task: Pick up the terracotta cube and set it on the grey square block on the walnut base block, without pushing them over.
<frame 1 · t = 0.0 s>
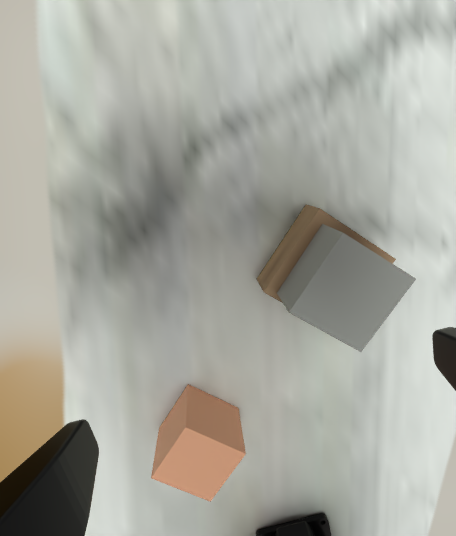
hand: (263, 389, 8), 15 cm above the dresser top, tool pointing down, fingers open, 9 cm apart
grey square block: (331, 278, 21), point 3 cm above the dresser top, touching walnut base block
walnut base block: (314, 263, 24), on the dresser top, touching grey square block
terracotta cube: (198, 417, 26), on the dresser top
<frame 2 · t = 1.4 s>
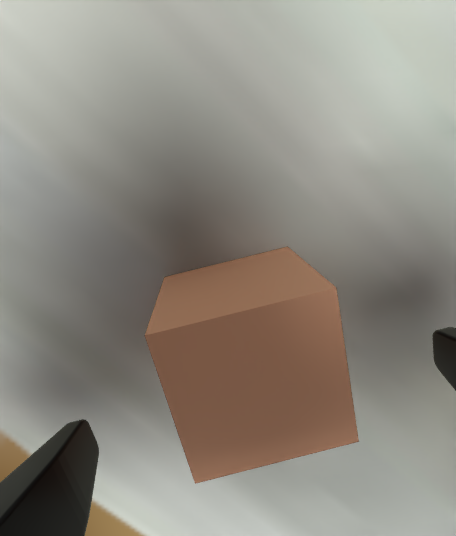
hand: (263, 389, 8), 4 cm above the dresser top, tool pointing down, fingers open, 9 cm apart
terracotta cube: (239, 317, 13), on the dresser top
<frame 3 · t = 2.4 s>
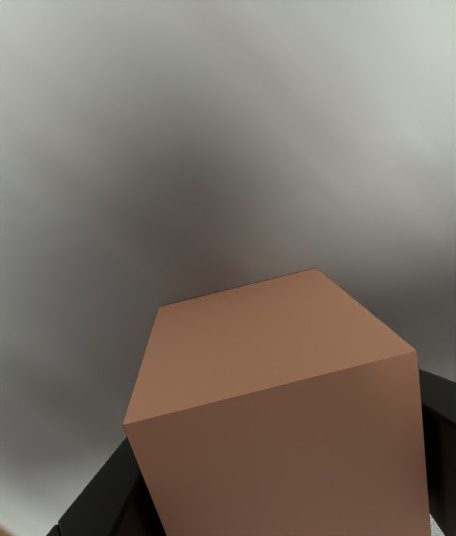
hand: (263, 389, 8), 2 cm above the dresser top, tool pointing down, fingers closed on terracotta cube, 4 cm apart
terracotta cube: (254, 356, 10), on the dresser top, touching gripper
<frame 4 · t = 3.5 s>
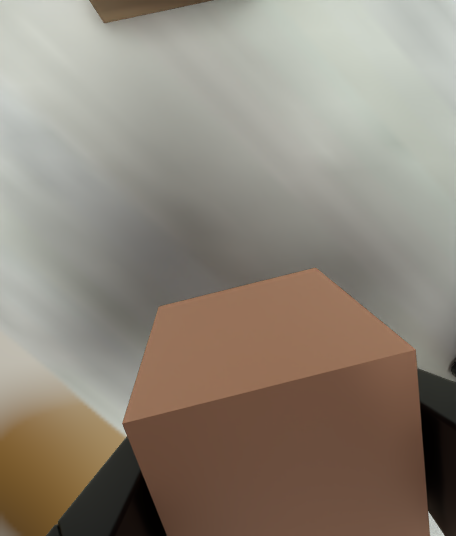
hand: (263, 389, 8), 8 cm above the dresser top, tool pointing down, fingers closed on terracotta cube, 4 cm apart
terracotta cube: (253, 356, 10), point 7 cm above the dresser top, touching gripper
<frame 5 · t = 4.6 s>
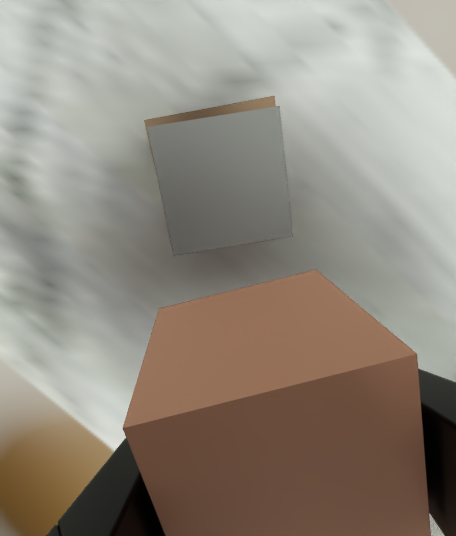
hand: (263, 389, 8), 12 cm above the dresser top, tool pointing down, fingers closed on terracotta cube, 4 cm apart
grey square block: (220, 183, 16), point 3 cm above the dresser top, touching walnut base block
walnut base block: (219, 175, 19), on the dresser top, touching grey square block
terracotta cube: (254, 358, 10), point 10 cm above the dresser top, touching gripper
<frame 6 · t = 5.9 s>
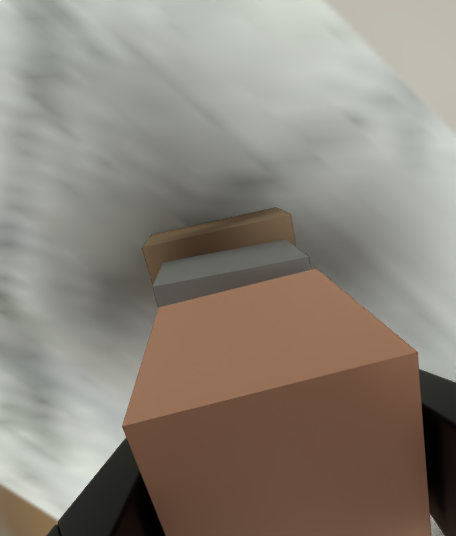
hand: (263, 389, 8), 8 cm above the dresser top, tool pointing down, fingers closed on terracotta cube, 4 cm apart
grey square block: (235, 307, 14), point 3 cm above the dresser top, touching walnut base block
walnut base block: (226, 278, 17), on the dresser top, touching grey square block
terracotta cube: (254, 357, 10), point 7 cm above the dresser top, touching gripper
when the fingers open (8 cm above the dresser top, at t = 6.7 s): terracotta cube drops 1 cm, resting on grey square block.
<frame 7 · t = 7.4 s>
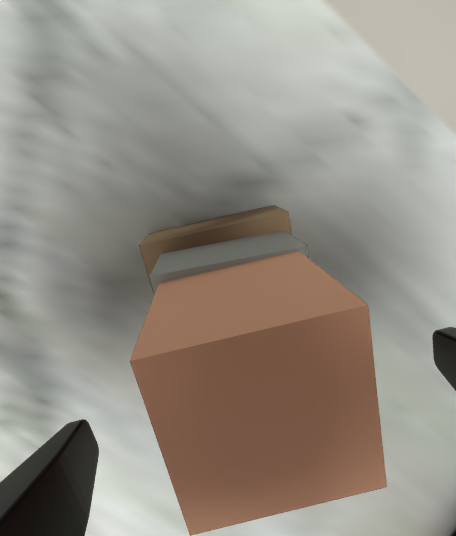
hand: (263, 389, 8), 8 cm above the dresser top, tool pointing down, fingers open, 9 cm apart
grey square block: (233, 299, 14), point 3 cm above the dresser top, touching terracotta cube, walnut base block
walnut base block: (224, 276, 17), on the dresser top, touching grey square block
terracotta cube: (243, 330, 11), point 6 cm above the dresser top, touching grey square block
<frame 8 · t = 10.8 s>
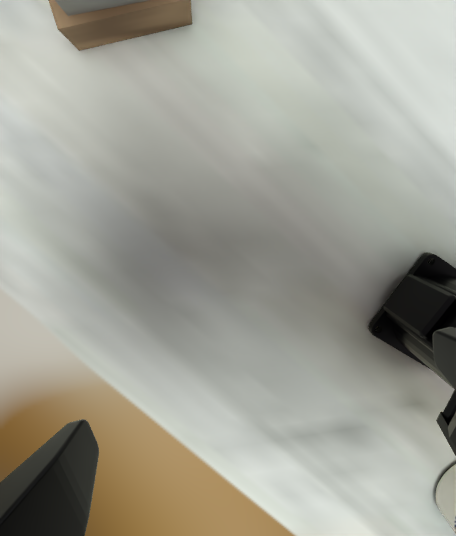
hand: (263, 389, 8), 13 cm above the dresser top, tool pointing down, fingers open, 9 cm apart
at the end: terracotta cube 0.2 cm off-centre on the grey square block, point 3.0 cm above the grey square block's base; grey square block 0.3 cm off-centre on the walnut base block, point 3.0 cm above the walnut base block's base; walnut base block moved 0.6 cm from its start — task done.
